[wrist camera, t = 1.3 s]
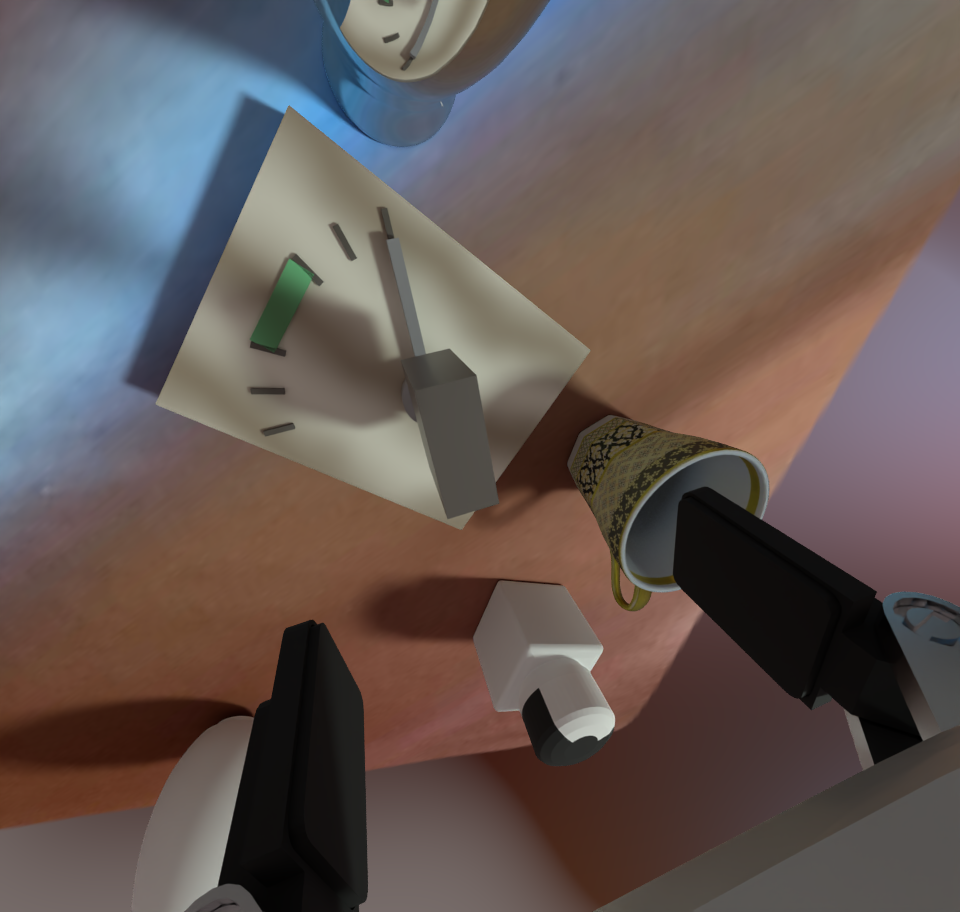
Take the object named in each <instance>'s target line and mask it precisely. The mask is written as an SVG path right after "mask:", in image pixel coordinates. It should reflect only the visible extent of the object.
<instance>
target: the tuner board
mask: <svg viewBox="0 0 960 912" xmlns="http://www.w3.org/2000/svg"><path fill="white" fill-rule="evenodd" d="M394 238H399V240H400V245H401V249H402V253H403V258H404V262H405V266H406V270H407V275H408V279H409V283H410V288H411V292H412V296H413V300H414V305H415V309H416V313H417V318H418V322H419V326H420V330H421V335H422V339H423V343H424V348H425V352H426V354H428V353H432V352H437V351H441V350H445V349H449V348H450V349H451V350H452V351H453V352H454V353H455V354H456V355H457V356H458V357H459V358H460V359H461V360H462V361H463V362H464V363H465V364H466V365H467V366H468V367H469V368H470V369H471V370H472V371H473V372H474V373H475V374H476V375H477V380H478V386H479V392H480V398H481V403H482V409H483V415H484V420H485V426H486V432H487V437H488V443H489V449H490V454H491V460H492V466H493V472H494V477H495V483H496V481H497V480H498V479H499V477H500V476H501V474H502V473H503V472H504V470H505V469H506V467H507V466H508V465H509V463H510V462H511V460H512V459H513V458H514V456H515V455H516V454H517V452H518V451H519V449H520V448H521V447H522V445H523V444H524V442H525V441H526V440H527V438H528V437H529V435H530V434H531V433H532V431H533V430H534V428H535V427H536V426H537V424H538V423H539V422H540V420H541V419H542V417H543V416H544V415H545V413H546V412H547V410H548V409H549V408H550V406H551V405H552V403H553V402H554V401H555V399H556V398H557V396H558V395H559V394H560V392H561V391H562V390H563V388H564V387H565V385H566V384H567V383H568V381H569V380H570V378H571V377H572V376H573V374H574V373H575V371H576V370H577V369H578V367H579V366H580V364H581V363H582V362H583V360H584V359H585V358H586V356H587V355H588V353H589V352H590V351H591V350H590V349H588V348H587V347H586V346H585V345H583V344H582V343H581V342H580V341H578V340H577V339H576V338H575V337H574V336H572V335H571V334H570V333H569V332H567V331H566V330H565V329H564V328H562V327H561V326H560V325H559V324H558V323H556V322H555V321H554V320H553V319H551V318H550V317H549V316H548V315H546V314H545V313H544V312H543V311H542V310H540V309H539V308H538V307H537V306H535V305H534V304H533V303H532V302H530V301H529V300H528V299H527V298H526V297H524V296H523V295H522V294H521V293H519V292H518V291H517V290H516V289H514V288H513V287H512V286H511V285H510V284H508V283H507V282H506V281H505V280H503V279H502V278H501V277H500V276H498V275H497V274H496V273H495V272H494V271H492V270H491V269H490V268H489V267H487V266H486V265H485V264H484V263H482V262H481V261H480V260H479V259H478V258H476V257H475V256H474V255H473V254H471V253H470V252H469V251H468V250H466V249H465V248H464V247H463V246H462V245H460V244H459V243H458V242H457V241H455V240H454V239H453V238H452V237H450V236H449V235H448V234H447V233H446V232H444V231H443V230H442V229H441V228H439V227H438V226H437V225H436V224H434V223H433V222H432V221H431V220H430V219H428V218H427V217H426V216H425V215H423V214H422V213H421V212H420V211H418V210H417V209H416V208H415V207H414V206H412V205H411V204H410V203H409V202H407V201H406V200H405V199H404V198H402V197H401V196H400V195H399V194H397V193H396V192H395V191H394V190H393V189H391V188H390V187H389V186H388V185H386V184H385V183H384V182H383V181H381V180H380V179H379V178H378V177H377V176H375V175H374V174H373V173H372V172H370V171H369V170H368V169H367V168H365V167H364V166H363V165H362V164H361V163H359V162H358V161H357V160H356V159H354V158H353V157H352V156H351V155H349V154H348V153H347V152H346V151H345V150H343V149H342V148H341V147H340V146H338V145H337V144H336V143H335V142H333V141H332V140H331V139H330V138H329V137H327V136H326V135H325V134H324V133H322V132H321V131H320V130H319V129H317V128H316V127H315V126H314V125H313V124H311V123H310V122H309V121H308V120H306V119H305V118H304V117H303V116H301V115H300V114H299V113H298V112H297V111H295V110H294V109H293V108H292V107H290V106H288V108H287V110H286V113H285V115H284V117H283V119H282V122H281V124H280V126H279V128H278V130H277V133H276V135H275V137H274V139H273V142H272V144H271V146H270V148H269V151H268V153H267V155H266V157H265V160H264V162H263V164H262V166H261V169H260V171H259V173H258V175H257V178H256V180H255V182H254V184H253V187H252V189H251V191H250V193H249V196H248V198H247V200H246V202H245V205H244V207H243V209H242V211H241V214H240V216H239V218H238V220H237V223H236V225H235V227H234V229H233V232H232V234H231V236H230V238H229V240H228V243H227V245H226V247H225V249H224V252H223V254H222V256H221V258H220V261H219V263H218V265H217V267H216V270H215V272H214V274H213V276H212V279H211V281H210V283H209V285H208V288H207V290H206V292H205V294H204V297H203V299H202V301H201V303H200V306H199V308H198V310H197V312H196V315H195V317H194V319H193V321H192V324H191V326H190V328H189V330H188V333H187V335H186V337H185V339H184V342H183V344H182V346H181V348H180V350H179V353H178V355H177V357H176V359H175V362H174V364H173V366H172V368H171V371H170V373H169V375H168V377H167V380H166V382H165V384H164V386H163V389H162V391H161V393H160V395H159V398H158V400H157V402H156V405H158V406H161V407H163V408H166V409H168V410H170V411H173V412H175V413H178V414H180V415H183V416H185V417H187V418H190V419H192V420H195V421H197V422H200V423H202V424H205V425H207V426H209V427H212V428H214V429H217V430H219V431H222V432H224V433H226V434H229V435H231V436H234V437H236V438H239V439H241V440H244V441H246V442H248V443H251V444H253V445H256V446H258V447H261V448H263V449H265V450H268V451H270V452H273V453H275V454H278V455H280V456H283V457H285V458H287V459H290V460H292V461H295V462H297V463H300V464H302V465H304V466H307V467H309V468H312V469H314V470H317V471H319V472H322V473H324V474H326V475H329V476H331V477H334V478H336V479H339V480H341V481H343V482H346V483H348V484H351V485H353V486H356V487H358V488H361V489H363V490H365V491H368V492H370V493H373V494H375V495H378V496H380V497H382V498H385V499H387V500H390V501H392V502H395V503H397V504H400V505H402V506H404V507H407V508H409V509H412V510H414V511H417V512H419V513H421V514H424V515H426V516H429V517H431V518H434V519H436V520H438V521H441V522H443V523H446V524H448V525H451V526H453V527H456V528H458V529H460V530H462V529H463V527H464V526H465V524H466V523H467V522H468V520H469V519H470V517H471V516H472V515H473V513H474V512H475V511H473V512H470V513H467V514H463V515H460V516H457V517H454V518H450V519H447V516H446V513H445V511H444V508H443V505H442V502H441V499H440V496H439V494H438V491H437V488H436V485H435V482H434V479H433V476H432V474H431V471H430V468H429V464H428V461H427V457H426V453H425V449H424V446H423V442H422V438H421V434H420V430H419V427H418V423H417V422H415V421H414V420H412V419H411V418H410V417H409V415H408V414H407V412H406V410H405V408H404V405H403V401H402V398H401V388H402V385H403V382H404V380H405V374H404V370H403V367H402V363H401V360H403V359H407V358H411V357H415V356H414V352H413V348H412V344H411V340H410V336H409V332H408V328H407V324H406V320H405V316H404V312H403V308H402V304H401V300H400V296H399V292H398V288H397V284H396V280H395V276H394V272H393V268H392V264H391V260H390V256H389V252H388V248H387V243H386V240H389V239H394Z"/></svg>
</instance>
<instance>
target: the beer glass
mask: <svg viewBox="0 0 960 912" xmlns="http://www.w3.org/2000/svg"><path fill="white" fill-rule="evenodd" d="M313 1H314V3H315V5H316V7H317V9H318V11H319V13H320V15H321V17H322V19H323V27H322V55H323V62H324V67H325V71H326V75H327V78H328V81H329V84H330V87H331V89H332V91H333V94H334V96H335V98H336V100H337V101H338V103H339V105H340V106H341V108H342V110H343V111H344V112H345V114H346V115H347V116H348V118H349V119H350V120H351V121H352V122H353V123H354V124H355V125H356V126H357V127H358V128H359V129H360V130H361V131H362V132H364V133H365V134H366V135H368V136H369V137H371V138H372V139H374V140H376V141H378V142H381V143H383V144H386V145H390V146H395V147H410V146H414V145H418V144H420V143H423V142H425V141H427V140H428V139H430V138H431V137H432V136H434V135H435V134H436V133H437V132H438V131H439V130H440V128H441V127H442V126H443V124H444V123H445V121H446V120H447V118H448V116H449V114H450V112H451V109H452V107H453V104H454V101H455V97H456V94H458V93H460V92H462V91H464V90H466V89H468V88H470V87H471V86H473V85H474V84H475V83H477V82H478V81H480V80H481V79H482V78H484V77H485V76H486V75H488V74H489V73H490V72H492V71H493V70H494V69H495V68H496V67H497V66H499V65H500V64H501V63H502V62H503V61H504V59H505V58H506V57H507V56H508V55H509V54H510V53H511V51H512V50H513V49H514V48H515V47H516V46H517V45H518V43H519V42H520V41H521V40H522V39H523V38H524V37H525V35H526V34H527V33H528V32H529V30H530V29H531V27H532V26H533V25H534V23H535V22H536V20H537V19H538V17H539V16H540V14H541V13H542V12H543V10H544V9H545V7H546V6H547V4H548V3H549V1H550V0H313Z"/></svg>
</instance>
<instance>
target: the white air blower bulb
mask: <svg viewBox="0 0 960 912" xmlns="http://www.w3.org/2000/svg"><path fill="white" fill-rule="evenodd" d="M253 720H254V718H253V717H250V716H234V717H229V718H226V719H224V720H222V721H220V722H219V723H218V724H216V725H214V726H212V727H210V728H208V729H207V730H206V731H204V732H203V733H202V734H201V735H200V736H199V737H198V738H197V739H196V740H195V741H194V742H193V744H192V745H191V746H190V747H189V748H188V750H187V751H186V752H185V754H184V755H183V756H182V757H181V759H180V760H179V762H178V763H177V764H176V766H175V768H174V769H173V771H172V772H171V774H170V776H169V778H168V779H167V781H166V783H165V785H164V787H163V789H162V791H161V794H160V796H159V798H158V800H157V803H156V805H155V807H154V810H153V812H152V815H151V817H150V821H149V823H148V826H147V829H146V832H145V836H144V839H143V843H142V846H141V850H140V855H139V859H138V863H137V868H136V874H135V881H134V888H133V897H132V907H131V912H184V911H185V910H186V909H187V908H188V907H189V906H190V905H191V904H192V903H193V902H194V901H195V900H197V899H198V898H199V897H201V896H202V895H204V894H205V893H207V892H208V891H210V890H211V889H213V888H216V887H217V886H218V882H219V877H220V872H221V868H222V863H223V858H224V854H225V849H226V845H227V840H228V835H229V831H230V826H231V822H232V817H233V812H234V808H235V803H236V799H237V794H238V789H239V785H240V780H241V776H242V771H243V766H244V762H245V757H246V753H247V748H248V743H249V739H250V734H251V729H252V725H253Z"/></svg>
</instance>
